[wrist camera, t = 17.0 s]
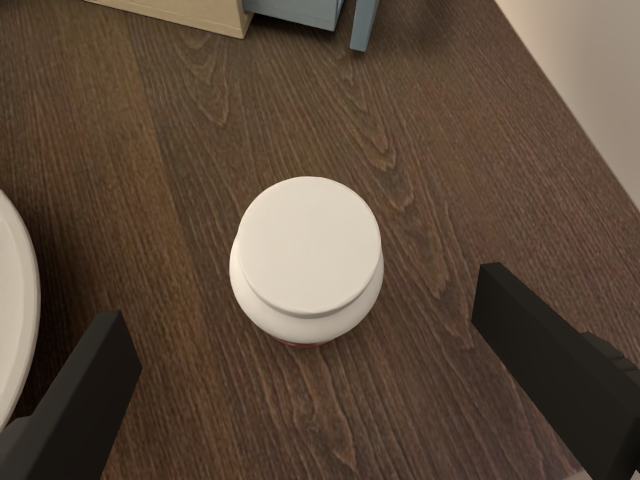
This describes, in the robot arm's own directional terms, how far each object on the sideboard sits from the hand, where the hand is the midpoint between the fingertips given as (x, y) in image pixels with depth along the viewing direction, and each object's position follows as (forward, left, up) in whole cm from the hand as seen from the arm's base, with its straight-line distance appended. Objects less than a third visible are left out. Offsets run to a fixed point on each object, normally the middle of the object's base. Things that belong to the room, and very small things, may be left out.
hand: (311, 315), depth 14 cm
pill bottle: (+1, -2, -8) cm, 9 cm away
